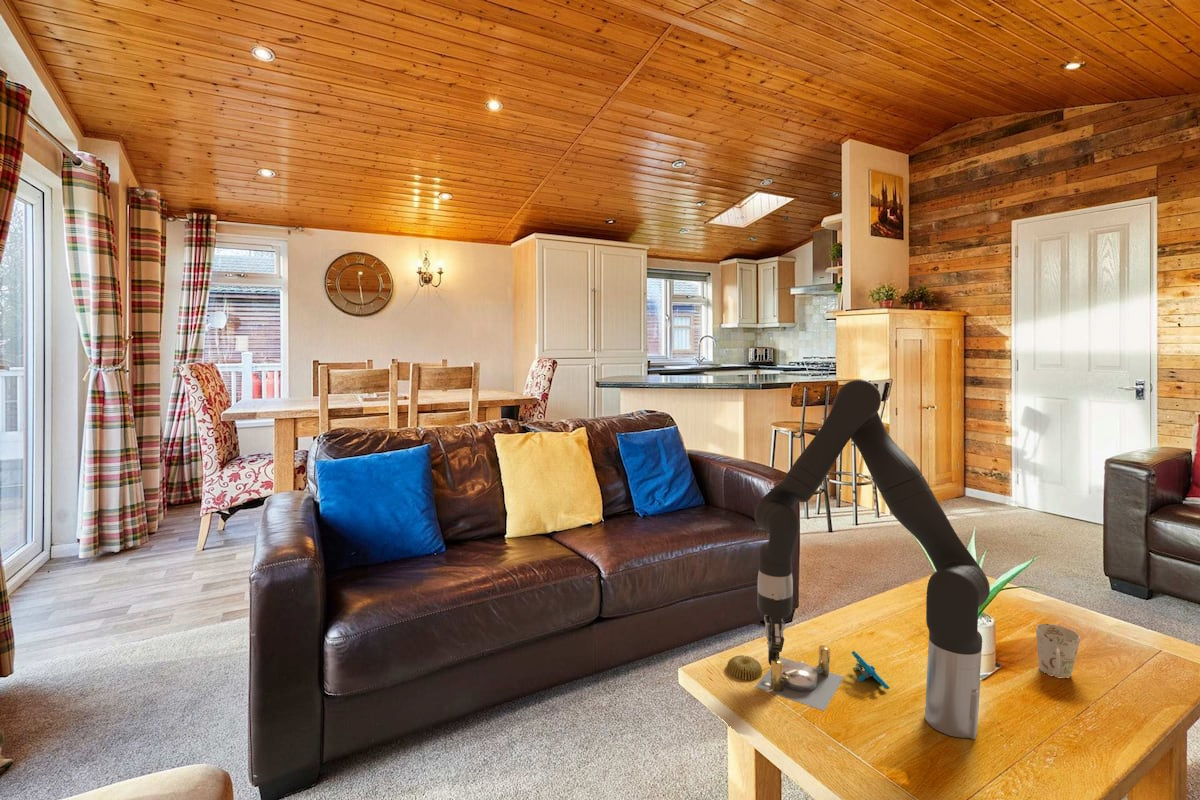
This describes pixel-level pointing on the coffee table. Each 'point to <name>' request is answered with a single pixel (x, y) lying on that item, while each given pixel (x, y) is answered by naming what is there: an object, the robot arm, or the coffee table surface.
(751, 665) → the sculpture
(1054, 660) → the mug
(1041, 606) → the coffee table surface
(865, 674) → the gear
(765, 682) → the board
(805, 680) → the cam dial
